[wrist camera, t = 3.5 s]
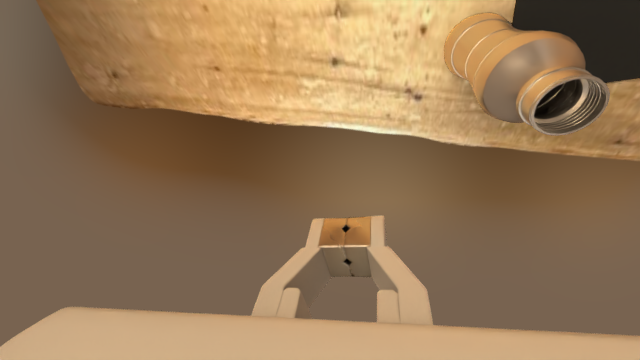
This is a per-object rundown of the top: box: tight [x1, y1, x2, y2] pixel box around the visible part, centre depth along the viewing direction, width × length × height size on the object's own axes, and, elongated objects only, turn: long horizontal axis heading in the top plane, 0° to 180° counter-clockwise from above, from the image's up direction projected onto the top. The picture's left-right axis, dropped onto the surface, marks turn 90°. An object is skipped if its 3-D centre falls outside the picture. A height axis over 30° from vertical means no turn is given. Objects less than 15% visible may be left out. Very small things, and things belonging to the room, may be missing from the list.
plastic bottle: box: [444, 13, 610, 135], centre depth 23 cm, size 6×7×20 cm
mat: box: [512, 0, 640, 83], centre depth 27 cm, size 22×14×1 cm, turn 103°
